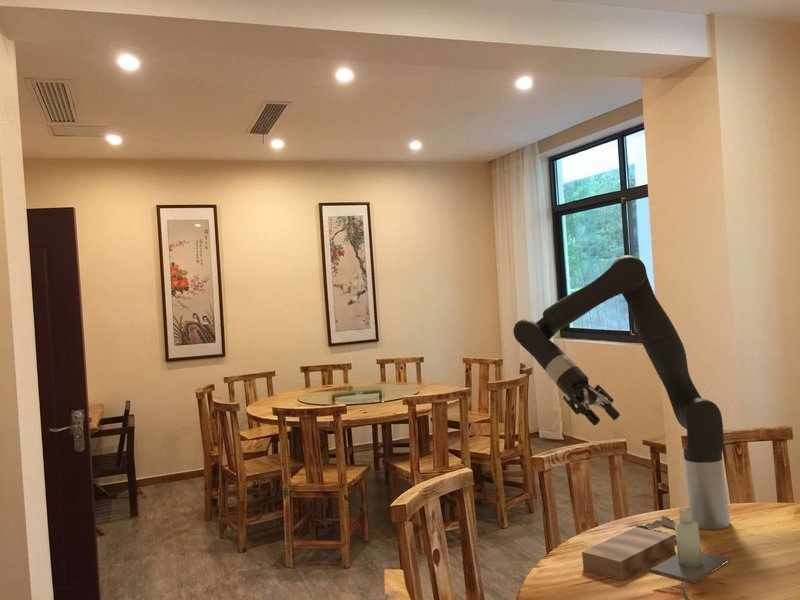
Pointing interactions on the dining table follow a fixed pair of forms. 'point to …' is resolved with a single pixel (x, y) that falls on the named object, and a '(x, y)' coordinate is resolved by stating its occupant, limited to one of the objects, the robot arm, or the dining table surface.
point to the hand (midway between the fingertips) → (607, 420)
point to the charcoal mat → (689, 573)
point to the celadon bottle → (687, 539)
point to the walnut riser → (628, 553)
